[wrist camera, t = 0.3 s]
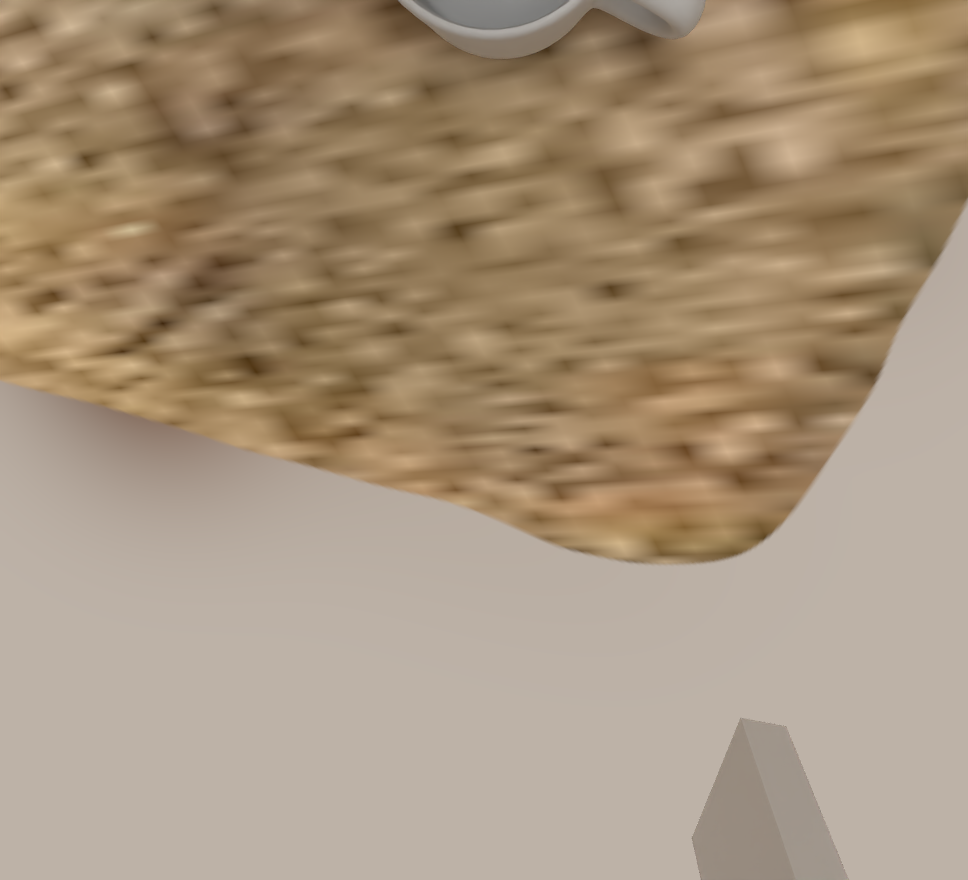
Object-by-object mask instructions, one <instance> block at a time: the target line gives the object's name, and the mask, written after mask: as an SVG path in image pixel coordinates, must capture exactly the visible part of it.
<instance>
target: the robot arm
mask: <svg viewBox="0 0 968 880" xmlns="http://www.w3.org/2000/svg"><path fill="white" fill-rule="evenodd" d="M692 841H693V846H694V850H695V854H696V859H697V864H698V868H699V873H700V877H701V880H849V879H848V877H847V874H846V872H845V869H844V867H843V864H842V862H841V860H840V857H839V854H838V852H837V850H836V847H835V845H834V842H833V840H832V838H831V835H830V832H829V830H828V828H827V825H826V823H825V820H824V818H823V816H822V813H821V810H820V808H819V806H818V803H817V801H816V798H815V796H814V793H813V791H812V788H811V786H810V784H809V781H808V779H807V776H806V774H805V771H804V769H803V766H802V764H801V761H800V759H799V757H798V754H797V752H796V749H795V747H794V744H793V742H792V739H791V737H790V735H789V732H788V730H787V727H786V726H781V725H775V724H770V723H765V722H760V721H754V720H749V719H743V718H740V721H739V723H738V726H737V728H736V731H735V733H734V735H733V738H732V740H731V743H730V745H729V748H728V750H727V753H726V755H725V758H724V760H723V763H722V765H721V767H720V770H719V772H718V775H717V777H716V780H715V782H714V785H713V787H712V790H711V792H710V795H709V797H708V799H707V802H706V805H705V807H704V809H703V812H702V814H701V817H700V819H699V822H698V824H697V827H696V829H695V832H694V834H693V836H692Z"/></svg>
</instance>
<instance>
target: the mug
mask: <svg viewBox="0 0 968 880" xmlns="http://www.w3.org/2000/svg"><path fill="white" fill-rule="evenodd" d="M398 1H399V2H400V3H401V4H402V5H403V6H404V7H405V8H406V9H407V10H409V11H410V12H411V13H412V14H414V15H415V16H416V17H417V18H418V19H420V20H421V21H422V22H424V23H425V24H426V25H428V26H429V27H430V28H432V30H433V31H435V32H436V33H437V34H438V35H439V36H441V37H442V38H443V39H444V40H445V41H447V42H449V43H450V44H452V45H453V46H455V47H457V48H459V49H461V50H463V51H465V52H467V53H470V54H473V55H477V56H480V57H484V58H492V59H512V58H518V57H524V56H527V55H530V54H533V53H536V52H538V51H541V50H543V49H545V48H547V47H549V46H550V45H552V44H553V43H555V42H557V41H558V40H560V39H561V38H562V37H563V36H564V35H566V34H567V33H568V32H569V31H570V30H571V29H572V28H573V27H574V26H575V25H576V24H577V23H578V22H579V21H580V20H581V18H582V17H583V16H584V15H585V14H586V13H587V12H588V11H589V10H590V9H592V8H597V9H600V10H603V11H605V12H607V13H609V14H611V15H613V16H615V17H616V18H618V19H620V20H622V21H624V22H626V23H628V24H630V25H632V26H634V27H636V28H638V29H640V30H642V31H644V32H647V33H649V34H652V35H655V36H658V37H662V38H666V39H678V38H681V37H684V36H686V35H687V34H689V33H690V32H691V31H692V30H693V29H694V28H695V26H696V25H697V23H698V21H699V20H700V17H701V15H702V12H703V10H704V7H705V0H398Z"/></svg>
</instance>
